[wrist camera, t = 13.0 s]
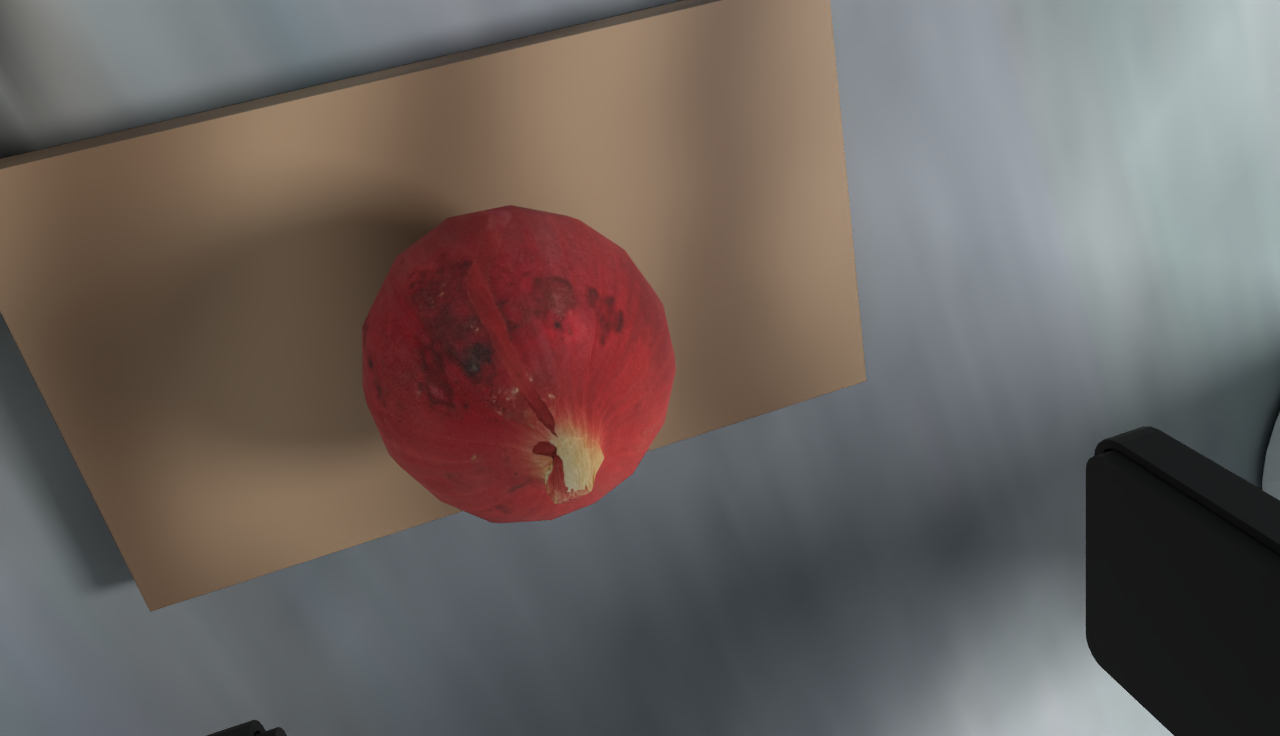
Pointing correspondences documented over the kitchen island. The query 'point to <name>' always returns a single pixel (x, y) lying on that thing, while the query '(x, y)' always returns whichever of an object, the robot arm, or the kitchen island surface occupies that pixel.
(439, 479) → the red round fruit
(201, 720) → the kitchen island surface
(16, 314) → the cutting board
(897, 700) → the kitchen island surface
